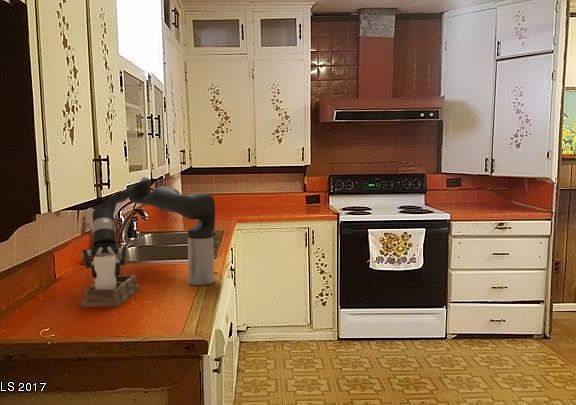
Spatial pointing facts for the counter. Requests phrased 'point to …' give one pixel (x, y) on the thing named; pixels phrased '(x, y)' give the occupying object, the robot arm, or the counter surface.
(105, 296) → the tray
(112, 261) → the can
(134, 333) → the counter surface
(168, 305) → the counter surface
